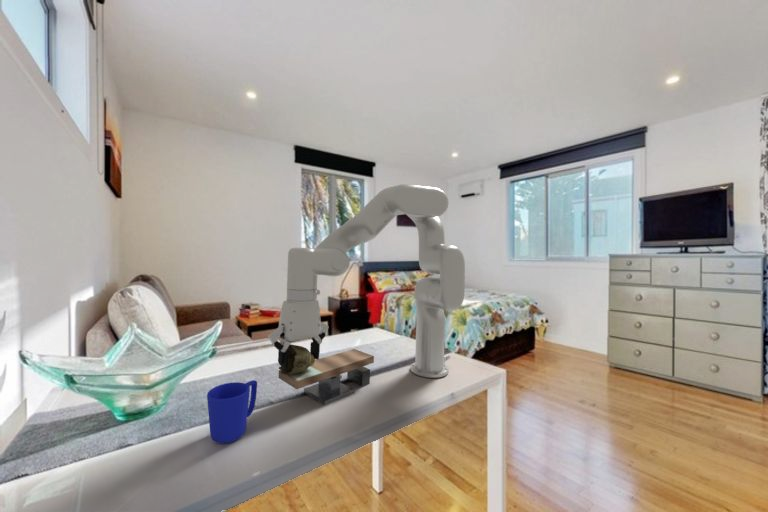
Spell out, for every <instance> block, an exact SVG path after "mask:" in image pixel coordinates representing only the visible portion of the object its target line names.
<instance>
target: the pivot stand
mask: <svg viewBox="0 0 768 512" xmlns="http://www.w3.org/2000/svg"><path fill="white" fill-rule="evenodd" d="M346 373H347V374H346V376H347V377H346V378H347V379H346V380H348V381H350V382H352V383H354V384H356V385H359V387H360V386H361V387H364V386H367V385H369V384H370V382H371V381H370V380H371V369H369V368H367V367H365V366H363V367H360V368H357V369H354V370H351V371H348V372H346ZM303 393H305V394H307V395H308V396H309V397H311V398H312V399H315V400H316V401H317V402H319V403H321V404H322V405H329V404H331V403H333V402H336V401H338V400H340V399H343V398H345V397H348V396H350V395H353V394H355V389H354V388H352V387H350V386H349V385H346V384H344V383H343V382H341V379H339V378H337V377H335V376H334V377H331V378H328V379H325V380H322V381H319V382H317V383H315V384H312V385H309V386H306V387H303Z"/></svg>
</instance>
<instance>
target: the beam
mask: <svg viewBox="0 0 768 512" xmlns="http://www.w3.org/2000/svg"><path fill="white" fill-rule="evenodd" d="M374 361H375V355H373V354H369V353H366V352H364V351H361V350H359V349H355V348H353V349H350V350H346V351H342V352H338V353H335V354H331V355H328V356H327V355H326V356H325V357H321V358H320V357H319V359H317V360H316V359H315V362H314V364H313V365H312V366H310V367H308V368H307V369H306V370H305V371H303V372H300V373H295V374H290V375H284V374H281V372H280V371H281V370H280V369H279V370H278V379H280V380H281V381H283V382H285V383H286V384H287V385H289V386H291V387H292V388H294V389H295V390H298V389H301V388H302V389H303V388H306V387H309V386H312V385H315V384H317V383H319V381H322V380H325V379H328V378H331V377H334V376H335V377H337V378H339V379H340V380H341V379H342V377H343V375H342V374H345V373H347V372H348V371H351V370H354V369H357V368H360V367H365V366H368V365H370V364H374Z"/></svg>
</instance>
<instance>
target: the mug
mask: <svg viewBox="0 0 768 512" xmlns="http://www.w3.org/2000/svg"><path fill="white" fill-rule="evenodd" d="M250 387H251V388H250ZM257 391H258V380H255V379H253V380H250V381H247V382H238V381H237V382H227V383H223V384H219V385H217V386H215V387H213V388H211V389H210V390H209V391H207V394H206V399H207V408H208V410H207V411H208V423H209V435H210V438H211V440H212V441H213V442H214V443H217V444H229V443H232V442H234V441H235V442H236V441H237V440H239V439H240V438H241V437H242V436H243V435H244V434H245V432H246V429H247V424H248V421H247V420H248V418H249V416H251V415H252V413H253V412H254V409H255V407H256V406H255V405H256V402H257V401H256V400H257Z"/></svg>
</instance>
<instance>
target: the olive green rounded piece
mask: <svg viewBox="0 0 768 512" xmlns="http://www.w3.org/2000/svg"><path fill="white" fill-rule="evenodd" d="M286 351H287V352H288V367H287V368H284V367H282V366H278V369H279V370H281V371H280V372H281V374H284V375H290V374H295V373H300V372H303V371H305V370H306V369H307V368H308V367H310V366H312V365H313V364H314V362H315V360H316V359H315V355H314V354H313V353H311V352H310V350H309V349H308V348H307V347H304V346H301V345H296V344H291V343H290V345H289V347H288V348H287V350H286Z"/></svg>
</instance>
